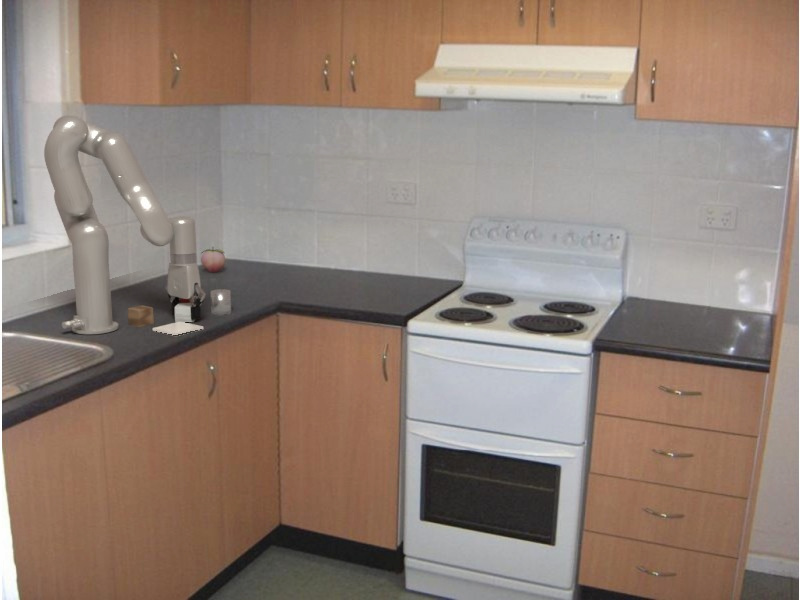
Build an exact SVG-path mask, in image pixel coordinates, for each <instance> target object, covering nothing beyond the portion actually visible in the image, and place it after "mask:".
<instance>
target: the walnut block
mask: <svg viewBox="0 0 800 600" xmlns="http://www.w3.org/2000/svg"><path fill="white" fill-rule="evenodd" d="M127 315H128V316H127V317H128V325H129V326H131V327H137V328H143V327H147V326H151V325H154V322H155V321H154V308H153V307H152V306H148V305H147V306H146V305H137V306H133V307H127ZM150 324H151V325H150ZM146 325H147V326H146Z"/></svg>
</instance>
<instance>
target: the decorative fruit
mask: <svg viewBox="0 0 800 600" xmlns="http://www.w3.org/2000/svg"><path fill="white" fill-rule="evenodd" d="M211 247H212V248H211V249H210V248H209V249H204V250H202V251H201V254H202V255H201V257H200V258H201V259H200V262H201V265H202V266H203V268H204V269H206V270H207V271H209V272H212V273H217V272H218V271H220V270H221V269H223V267H224V266H225V263H226V256H225V251H224V250H222V249H220V248H218V249H217V248H215V249H214V246H211Z"/></svg>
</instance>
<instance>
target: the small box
mask: <svg viewBox="0 0 800 600" xmlns="http://www.w3.org/2000/svg"><path fill="white" fill-rule="evenodd" d="M191 307H192V305H191V303H178V304H177V305H176V306H175V316H174V323H176V322H180V321H181V322H193V323H195V321H196V320H197V319H195V320H192V319H191Z"/></svg>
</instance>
